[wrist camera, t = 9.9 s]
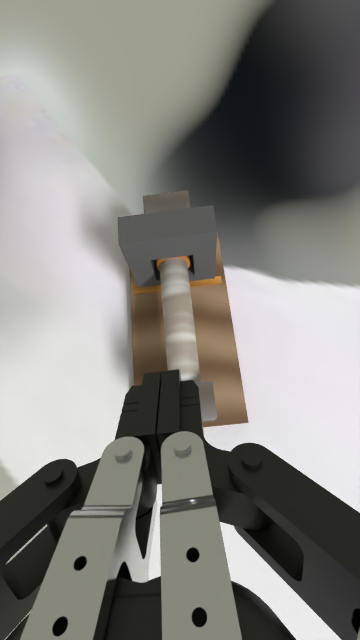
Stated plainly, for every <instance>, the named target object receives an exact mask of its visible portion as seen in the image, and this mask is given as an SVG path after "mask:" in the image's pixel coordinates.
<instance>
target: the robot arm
mask: <svg viewBox="0 0 360 640" xmlns="http://www.w3.org/2000/svg"><path fill="white" fill-rule="evenodd" d="M157 484H162V506H161V507H160V548H161V576H160V577H157V578H155V579H152V580H150V581H149V577H148V568H149V559H150V552H151V545H152V538H153V531H154V524H155V517H156V510H157V501H156V494H157ZM219 521H220V522H223V523H227V524H230V525H234V527H235V529H236V531H237V532H238V533H239V535H240V536H241V537H242V538H243V539H244V540H245V541H246V542H247V543H248V544H249V545H250V546H251V547H252V548H253V549H254V550H255V551H256V552H257V553H258V554H259V555H260V556H261V557H262V558H263V559H264V560H265V561H266V562H267V563H268V564H269V565H270V567H271V568H272V569H273V570H274V571H275V572H276V573H277V574H278V575H279V576H280V577H281V578H282V579H283V580H284V581H285V582H286V583H287V584H288V585H289V586H290V587H291V588H292V589H293V590H294V591H295V592H296V593H297V594H298V595H299V596H300V597H301V598H302V599H303V600H304V601H305V602H306V604H307V605H308V606H309V607H310V608H311V609H312V610H313V611H314V612H315V613H316V614H317V615H318V616H319V617H320V618H321V619H322V620H323V621H324V622H325V623H326V624H327V625H328V626H329V627H330V628H331V629H332V630H333V631H334V632H335V633H336V634H337V635H338V636H339V637H340V638H341V639H342V640H360V513H359V512H357V511H356V510H355V509H353V508H352V507H350V506H349V505H347V504H346V503H344V502H343V501H342V500H340V499H339V498H337V497H336V496H334V495H333V494H332V493H330V492H329V491H327V490H326V489H324V488H323V487H321V486H320V485H319V484H317V483H316V482H314V481H313V480H311V479H310V478H308V477H307V476H306V475H304V474H303V473H301V472H300V471H298V470H297V469H296V468H294V467H293V466H291V465H290V464H288V463H287V462H285V461H284V460H283V459H281V458H280V457H278V456H277V455H275V454H274V453H272V452H271V451H270V450H268V449H267V448H265V447H263V446H261V445H259V444H255V443H244V444H240V445H238V446H236V447H235V448H234V449H232V451H231V452H229V451H224V450H220V449H217V448H215V447H213V446H211V445H210V444H209V443H208V442H207V441H206V440H205V438H204V433H203V422H202V413H201V404H200V395H199V387H198V386H197V385H196V383H195V382H194V381H193V380H186V381H181V374H180V369H176V370H166V371H157V372H147V373H144V375H143V381H142V385H137V386H132V387H131V389H130V390H129V391H128V392H127V394H126V396H125V400H124V405H123V408H122V413H121V416H120V420H119V425H118V429H117V433H116V437H115V440H114V441H113V442H111V443H110V444H109V445H108V446H107V447H106V448H105V450H104V452H103V454H102V457H101V458H100V459H98V460H96V461H94V462H91V463H88V464H86V465H83V466H80V467H78V468H77V467H76V465H75V463H74V462H73V461H71V460H68V459H59V460H55V461H53V462H50V463H48V464H47V465H45V466H44V467H42V468H41V469H40V470H39V471H37V472H36V473H35V474H34V475H32V476H31V477H30V478H28V479H27V480H26V481H25V482H23V483H22V484H21V485H20V486H18V487H17V488H16V489H15V490H13V491H12V492H11V493H10V494H8V495H7V496H6V497H5V498H3V499H2V500H1V501H0V640H4V639H5V638H6V637H7V636H8V635H9V634H10V633H11V631H12V630H13V629H14V628H15V627H16V626H17V625H18V624H19V622H20V621H21V620H22V619H23V618H24V617H25V616H26V615H27V614H28V613H29V611H30V610H31V609H32V610H31V613H30V614H29V615H28V616H27V617H26V618H25V619H24V620H23V621H22V622H21V623H20V624H19V625H18V626H17V627H16V628H15V630H14V631H13V632H12V633H11V634H10V635H9V637H8V638H7V639H6V640H296V639H295V638H294V636H293V635H292V634H291V633H290V631H289V630H288V629H287V628H286V627H285V625H284V624H283V623H282V622H281V621H280V619H279V618H278V617H277V616H276V614H275V613H274V612H273V611H272V610H271V609H270V607H269V606H268V605H267V604H266V603H265V602H264V601H262V600H261V599H260V598H259V597H258V596H257V595H256V594H254V593H253V592H252V591H250V590H249V589H247V588H245V587H244V586H242V585H240V584H238V583H235V582H233V581H231V579H230V574H229V569H228V564H227V559H226V553H225V548H224V543H223V538H222V533H221V527H220V522H219ZM46 524H47V527H46V528H45V529H44V530H43V531H42V532H41V533H40V534H39V535H38V536H36V537H35V538H34V539H33V540H32V542H30V543H29V544H28V545H27V546H26V547H25V548H24V549H23V550H22V551H21V552H20V553H19V554H17V555H16V556H15V557H14V558H13V559H12V560H11V561H10V562H9V563H7V561H8V560H9V559H10V558H11V557H12V556H13V555H14V554H15V553H16V552H17V551H18V550H19V549H20V548H21V547H22V546H24V545H25V544H26V543H27V542H28V541H29V540H30V539H31V538H32V537H33V536H34V535H35V534H36V533H37V532H38V531H39V530H40V529H42V528H43V527H44V526H45V525H46ZM6 563H7V564H6ZM5 564H6V565H5Z"/></svg>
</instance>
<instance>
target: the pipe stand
mask: <svg viewBox="0 0 360 640" xmlns="http://www.w3.org/2000/svg"><path fill="white" fill-rule="evenodd" d="M143 201H144V214H149V213H157V212H165V211H172V210H180V209H188V208H190V203H189V194H188V191H187V190H186V191H178V192H171V193H163V194H156V195H148V196H143ZM156 264H157V269H158V270H159V271H160V279H161V285H155V286H147V287H138V285H137V283H136V281H135V278H134V276H133V274H132V272H131V270H130V291H131V316H132V340H133V365H134V386H137V385H142V381H143V375H144V373H147V372H157V371H166V370H176V369H180V374H181V381H186V380H193V381H194V382H195V383H196V385H197V386H198V387H199V395H200V404H201V413H202V422H203V427H210V426H220V425H230V424H240V423H248V417H247V411H246V405H245V399H244V392H243V386H242V380H241V374H240V368H239V361H238V355H237V349H236V343H235V337H234V330H233V324H232V318H231V312H230V306H229V300H228V293H227V287H226V281H225V275H224V269H223V262H222V256H221V250H220V244H219V238H218V231H217V248H216V265H215V278H214V279H205V280H197V281H189V275H188V268H189V266H190V259H189V256H181V257H173V258H165V259H156Z"/></svg>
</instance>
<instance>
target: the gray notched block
mask: <svg viewBox="0 0 360 640" xmlns="http://www.w3.org/2000/svg"><path fill="white" fill-rule="evenodd" d="M118 234H119V246H120V248H121V250H122V252H123V255H124V257H125V259H126V261H127V263H128V265H129V268H130V270H131V272H132V274H133V276H134V278H135V281H136V283H137V285H138V287H147V286H155V285H161V279H160V271H159V270H158V269H157V264H156V259H165V258H173V257H181V256H189V259H190V266H189V268H188V275H189V281H197V280H205V279H214V278H215V265H216V248H217V227H216V221H215V214H214V208H213V205H211V206H203V207H195V208H188V209H180V210H172V211H165V212H157V213H149V214H141V215H134V216H126V217H118Z"/></svg>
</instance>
